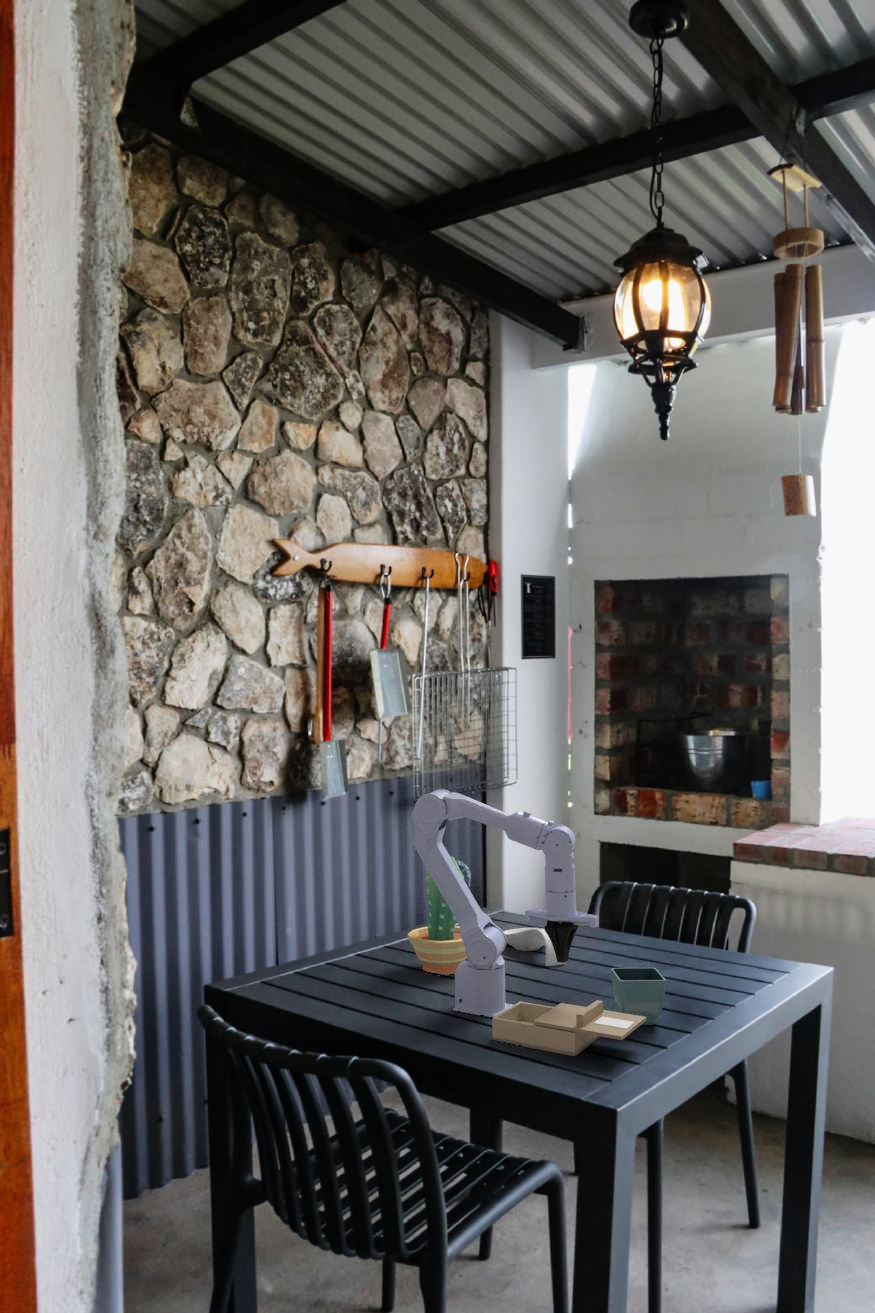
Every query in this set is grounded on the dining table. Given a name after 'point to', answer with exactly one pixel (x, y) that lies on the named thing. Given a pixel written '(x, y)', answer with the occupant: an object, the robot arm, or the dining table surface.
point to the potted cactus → (440, 931)
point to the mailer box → (537, 1031)
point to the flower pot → (639, 992)
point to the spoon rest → (532, 942)
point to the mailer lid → (591, 1020)
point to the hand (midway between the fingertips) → (562, 961)
